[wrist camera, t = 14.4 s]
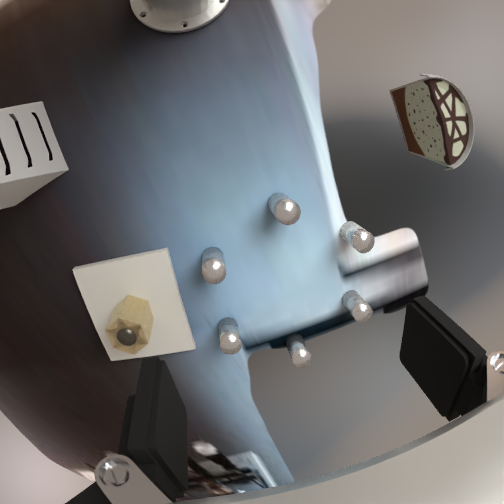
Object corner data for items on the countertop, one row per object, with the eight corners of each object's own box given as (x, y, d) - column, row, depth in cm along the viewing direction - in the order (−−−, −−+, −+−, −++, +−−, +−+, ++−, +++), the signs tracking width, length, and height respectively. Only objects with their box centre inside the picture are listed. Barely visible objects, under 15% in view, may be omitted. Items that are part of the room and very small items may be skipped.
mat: (74, 266, 39) (72, 269, 38) (167, 247, 40) (166, 250, 39) (112, 357, 45) (111, 360, 44) (195, 345, 46) (195, 349, 45)
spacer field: (191, 208, 39) (189, 218, 34) (355, 181, 40) (373, 187, 36) (227, 361, 48) (230, 383, 43) (357, 330, 50) (369, 348, 45)
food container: (438, 150, 40) (483, 159, 31) (409, 161, 41) (455, 172, 31) (417, 73, 36) (462, 67, 27) (385, 80, 36) (430, 72, 27)
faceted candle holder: (112, 297, 40) (100, 321, 35) (145, 291, 41) (137, 315, 35) (125, 331, 42) (117, 357, 37) (157, 326, 43) (152, 352, 37)
